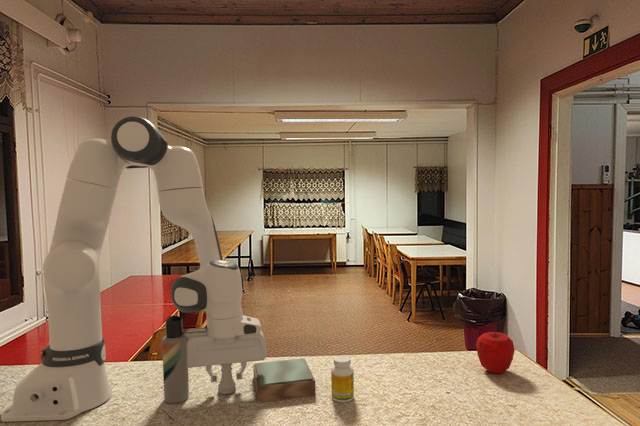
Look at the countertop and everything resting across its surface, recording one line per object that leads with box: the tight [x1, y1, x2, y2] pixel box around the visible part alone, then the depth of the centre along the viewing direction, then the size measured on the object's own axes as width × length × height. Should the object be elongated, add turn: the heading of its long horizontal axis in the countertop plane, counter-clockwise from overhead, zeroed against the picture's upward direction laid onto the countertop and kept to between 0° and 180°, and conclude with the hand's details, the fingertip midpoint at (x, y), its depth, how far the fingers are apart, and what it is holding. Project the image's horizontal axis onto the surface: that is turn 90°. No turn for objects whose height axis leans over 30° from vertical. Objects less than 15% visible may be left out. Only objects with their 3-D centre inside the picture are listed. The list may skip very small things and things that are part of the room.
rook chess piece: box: [217, 363, 237, 395], centre depth 108 cm, size 4×4×8 cm
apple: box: [475, 331, 515, 375], centre depth 117 cm, size 10×10×11 cm
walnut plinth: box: [252, 358, 317, 403], centre depth 110 cm, size 14×14×4 cm
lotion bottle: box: [161, 315, 190, 405], centre depth 104 cm, size 6×6×20 cm
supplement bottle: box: [330, 355, 355, 404], centre depth 103 cm, size 5×5×10 cm
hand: (226, 380), depth 108 cm, fingers open, 5 cm apart
